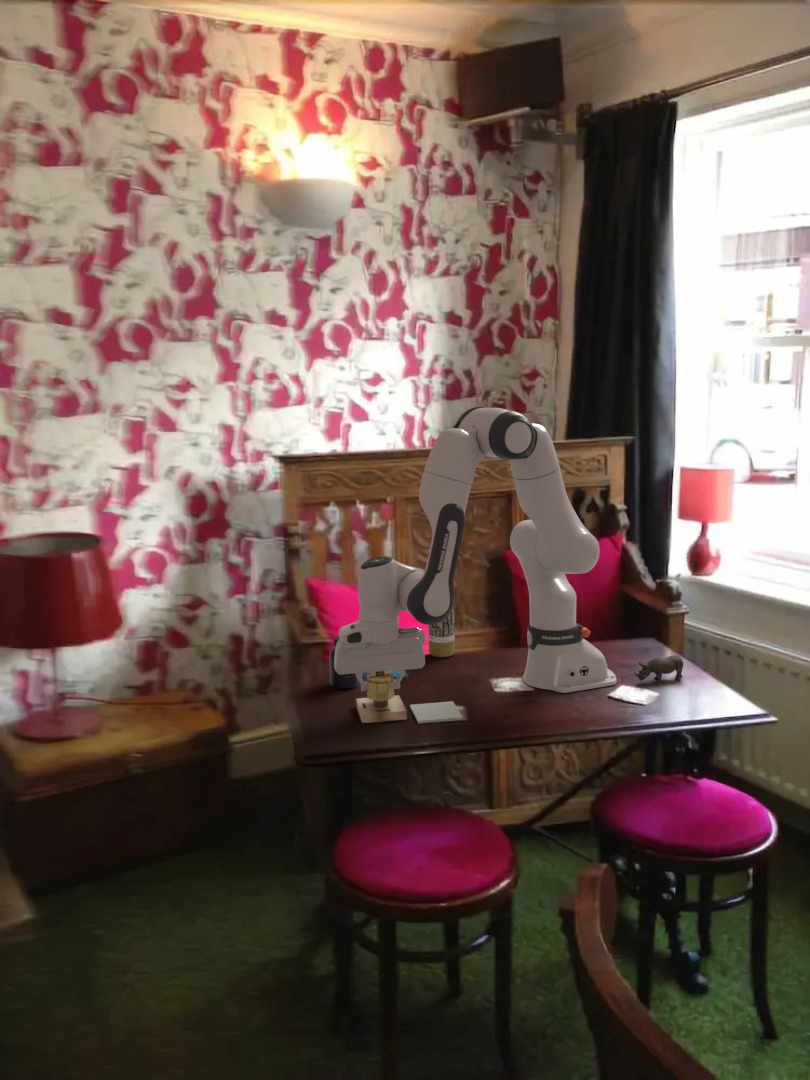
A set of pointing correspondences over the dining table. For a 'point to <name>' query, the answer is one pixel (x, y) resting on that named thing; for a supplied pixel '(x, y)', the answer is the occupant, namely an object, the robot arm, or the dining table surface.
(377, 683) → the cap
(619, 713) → the dining table surface
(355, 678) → the supplement bottle
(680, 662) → the rhino figurine
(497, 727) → the dining table surface
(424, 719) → the coaster
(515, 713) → the dining table surface
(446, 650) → the paper tube
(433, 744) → the dining table surface
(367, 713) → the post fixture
